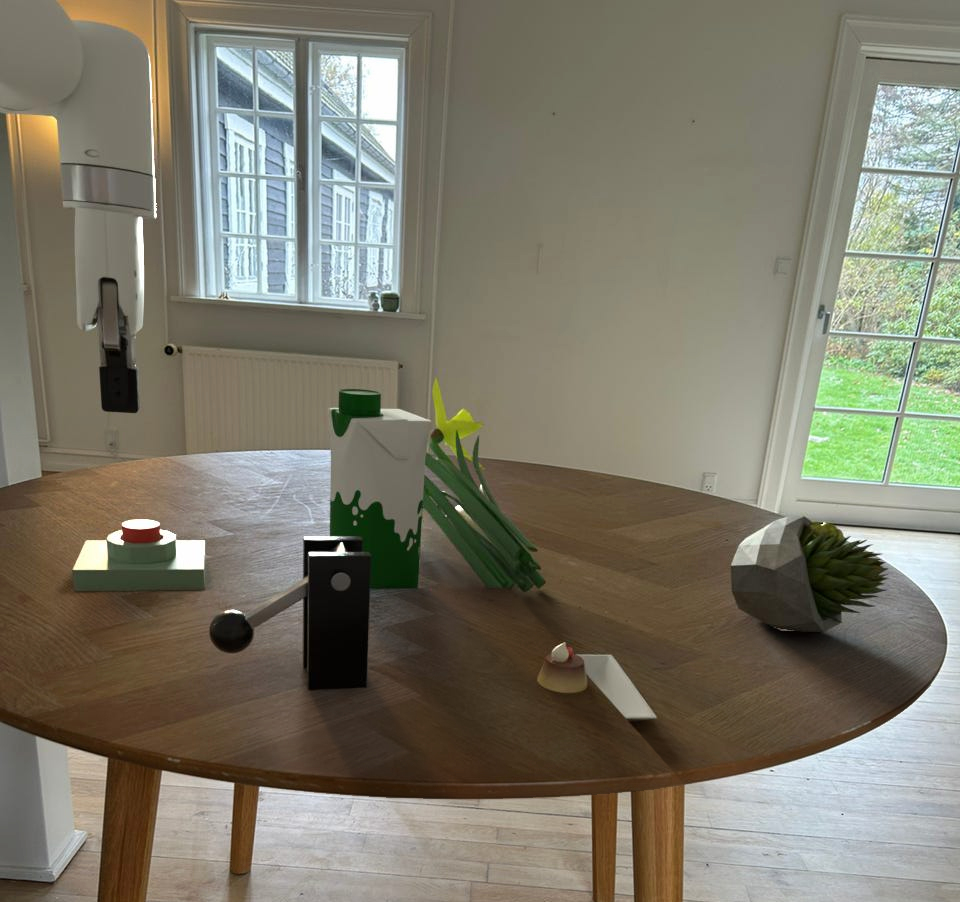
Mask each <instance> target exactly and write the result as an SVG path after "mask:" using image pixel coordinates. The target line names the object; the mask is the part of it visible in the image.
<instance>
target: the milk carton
mask: <svg viewBox="0 0 960 902" xmlns="http://www.w3.org/2000/svg"><path fill="white" fill-rule="evenodd" d="M381 407H382V393H381V392H380V391H376V390H371V389H363V388H362V389H361V388H343V389H342V388H341V389H340V390H338V407H328V408H327V417H328V418H327V419H328V433H329V449H330V478H329V479H330V481H329V482H330V485H329V486H330V487H329V490H330V491H329V537H361V538H362V540H363V552H369V553H370V555H371V575H370V590H403V589H404V590H406V589H407V590H411V589H414V590H415V589H416V590H417V589H419V578H420V563H421V562H420V560H421V559H420V558H421V542H422V540H421V539H422V526H423V525H422V523H423V520H422V514H423V490H424V475H425V470H426V465H425V458H426V452H427V451H428V446H429V436H430V433H431V428H432V427H431V426H432V420H430V419H428V418H425V417H422V416H419V415H417V414H414V413H412V412H408V411H406V410H404V409H401V408H381Z"/></svg>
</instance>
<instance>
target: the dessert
mask: <svg viewBox="0 0 960 902" xmlns="http://www.w3.org/2000/svg"><path fill="white" fill-rule="evenodd" d="M562 640H563V643H560V644H559V645H557V646H555V647H554V648H553V649H552V651H551V653H548V654H547V655H546V657H545V659H544V661H543V663H542V666H541V669H540V671H539V673H538V676H537V678H536V679H537V683H538V684H539V685H540V686H542V687H543V688H545V689H547V690H549V691H553V692H556V693H563V694H574V693H575V694H576V693H580V692H583V691H585V690H586V689H587V688H588V686H589V685H588V678H587V676H588V677H589V679H590V680H591V681H592V682H593V683H594V684H595V685H596V686H597V688H598V689H599V690H600V691H601V692H602V694H603V695H604V696H605V697H606V698H607V699H608V700H609V701H610V702H611V704H612V705H613V706H614V707H615V708H616V709H617V710H618V711H619V713H621V715H622V716H623V717H624V718H625V719H626V721H627V722H639V721H645V720H647V721H648V720H655V719H658V717H657V715H656V713H654V711H653V709H652V708H651V707H650V705H649V704H648V703H647V702H646V700H645V698H643V696H642V695H641V693H640V692H639V690H638V689H637V688H636V686H635V685H634V683H633V682H632V681H631V679H630V678H629V676H628V675H627V674H626V673H625V671H624V669H623V668H622V667H621V665H620V664H619V662H618V661H617V660H616V658H615V657H614V656H613V655H612V654H575V653H574V652H575V651H574V649H573V648H572V647H571V646H569V645H568V644H567V642H566V641H565V638H562Z"/></svg>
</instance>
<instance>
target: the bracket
mask: <svg viewBox="0 0 960 902" xmlns="http://www.w3.org/2000/svg"><path fill="white" fill-rule="evenodd" d="M340 543H343V545H344V546H345V548H346V549H347V551H348V552H327V551H328V550H330V549H332V548H333V547H335V546H337V545H338V544H340ZM302 545H303V546H302V579H304V578H306V577H307V576H308V596H307V597H305V598H303V599H302V667H303V669H306V683H307V684H306V686H307V690H308V691H325V690H326V691H327V690H344V689H345V690H346V689H347V690H348V689H366V688H367V685H368V657H369V634H370V633H369V630H370V629H369V628H370V627H369V626H370V603H371V602H370V601H371V589H370V575H371V555H370V553H369V552H363V540H362V538H361V537H330V536H313V535H311V536H310V535H309V536H306V535H305V536H302Z"/></svg>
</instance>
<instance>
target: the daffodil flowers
mask: <svg viewBox="0 0 960 902" xmlns="http://www.w3.org/2000/svg"><path fill="white" fill-rule="evenodd" d="M431 390H432V394H431V395H432V401H433V407H434V412H435V425H436V426H435V427H436V428H433V429H432V430H431V431H430V433H429V438H428V446H429V449H430V450H431V452H432V453H433V455H434V456H435V457H433V455H432V454H430V453H428V452H427V451H426V458H425V467H427V468H428V469H429V470H430V471H431V472H432V473H433V474H434V475H435V476H436V477H437V478H438V479H439V480H440V481H442V482H443V484H445V486H446V487H447V488H448V489H449V490H450V491H451V492H453V494H455V496H454V495H453V494H452V493H449V492H447V491H444V490H440V489H439V487H438V486H437V485H436V483H434V482H433V481H432V480H431V479H430V478H429V477H428V476H427V475H426V474H424V490H423V508H422V510H423V509H425V511H426V512H427V513H428V515H429V516H430V518H429V519H430V520H433V521H434V522H435V523H436V524H437V526H438V527H439V529H440V530H441V531H442V532H443V534H444V535H445V536H446V538H447V539H448V540H449V542H450V543H451V544H452V545H453V546H454V548H455V549H456V550H457V551H458V552H459V554H460V555H461V557H463V559H464V560H465V561H466V563H467V564H468V565H469V566H470V568H471V569H472V570H473V572H474V573H475V574H476V575H477V577H478V579H480V580H481V582H482V583H483V585H484V586H485V587H486V588H489V589H490V588H510V590H511V589H513V588H514V587H515V586H516V585H517V586H518V588H519V589H520V590H521V591H522V592H523V593H526V592H528V591H530V590H531V589H533V587H534V586H535V588H536V589H538V590H539V589H541V588H542V587H543V586H544V585H545V584H546V582H547V581H546V579H545V578H544V577H543V576H542V575H541V573H540V572H539V571H541V570H542V568H541V567H542V566H541V565H540V564H539V563H538V562H537V560H536V559H535V557H533V555H532V554H531V553H530V552H533V553H537V552H538V551H539V550H538V548H537V547H535V545H534V544H533V543H532V542H531V541H530V540H529V539H528V538H527V537H526V535H524V533H522V531H521V530H520V529H519V528H518V527H517V526H516V525H515V524H514V523H513V522H512V521H511V519H509V518H508V517H507V516H506V515H505V514H504V513H503V511H501V508H500V507H499V505H498V503H497V502H496V499H495V498H494V496H493V494H492V492H491V490H490V488H489V486H488V485H487V482H486V480H485V477H484V475H483V473H482V471H481V469H482V470H485V468H484V466H483V465H482V464H481V463H479V448H480V447H479V446H480V435H479V434H478V435H477V438H476V440H475V442H474V445H473V449H472V453H471V454H472V455H471V454H470V453H469V452H468V451H467V450H466V448H465V447H464V446H463V444H462V443H461V439H464V438H466V437H468V436H470V435H472V434H473V433H476V432H477V431H478V430H480V429H481V428H482V427H484V425H485V424H484V423H482V422H480V421H475V419H473V417H474V416H473V415H471V412H468V409H466V408H462V409H461V410H460V411H459V412H457V414H456V415H455V416H453V417H452V418H451V419H450V420H447V413H446V410H445V406H444V401H443V396H442V393H441V388H440V385H439V381H438V379H437V376H435V377H434V382H433V385H432V389H431ZM442 442H444V445H445V446H446V447H447V446H449V448H450V449H451V451H452V453H453V454H454V456H455V457H456V459H457V463H458V466H459V468H458V467H457V465H456V464H455V463H454V462H453V461H452V460H451V458H450V457H449V456H448V455H447V454H446V452H444V451H443V449H442V448H441V447H440V445H439V444H440V443H442ZM465 458H466V459H468V461H470V462H472V466H473V468H474V471H475V472H476V476H477V477H478V480H479V481H480V486H479V487H478V485H477V484H476V482H475V480H474V478H473V476H472V475H471V471H470V470H469V467H468V464H467V461H466V459H465ZM448 498H449V499H451V500H453V501H454V502H455V503H456V504H457V506H454V505H453V504H452V502H451V501H450V500H449V499H448ZM422 523H423V525H424V526H426V524H425V517H424V514H423V513H422Z"/></svg>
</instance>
